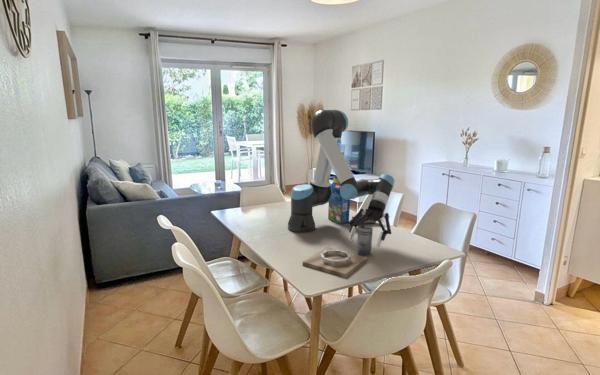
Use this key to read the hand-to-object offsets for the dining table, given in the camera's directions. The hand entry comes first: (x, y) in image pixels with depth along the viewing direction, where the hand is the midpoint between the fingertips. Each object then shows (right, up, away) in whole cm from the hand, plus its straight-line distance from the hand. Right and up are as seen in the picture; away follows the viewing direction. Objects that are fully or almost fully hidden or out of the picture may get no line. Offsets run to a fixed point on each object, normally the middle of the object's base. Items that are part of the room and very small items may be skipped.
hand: (363, 242), depth 159 cm
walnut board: (-13, -7, -8) cm, 17 cm away
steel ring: (-13, -6, -8) cm, 17 cm away
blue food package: (-6, +5, +51) cm, 51 cm away
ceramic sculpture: (+10, +4, +48) cm, 49 cm away
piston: (+1, -5, +3) cm, 6 cm away
